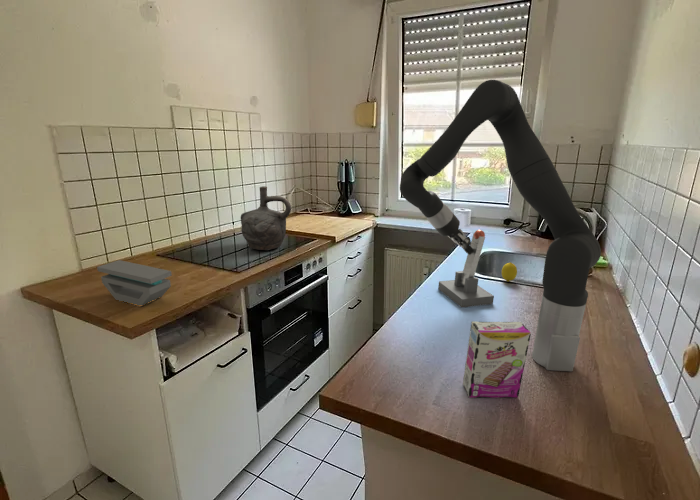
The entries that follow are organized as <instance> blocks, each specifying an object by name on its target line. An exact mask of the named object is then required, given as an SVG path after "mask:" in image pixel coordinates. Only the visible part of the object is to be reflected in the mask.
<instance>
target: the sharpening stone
mask: <svg viewBox="0 0 700 500" xmlns="http://www.w3.org/2000/svg"><path fill="white" fill-rule="evenodd" d="M96 269H97V272H100V273H104V274H105V275H102V276H101V277H100V278H101V283H102V285H103V286H104V287H105V288H106V289H107V291H108V292H109V293H110V294H111V296H112V297H113V298H114V299H115V300H119V301H118V302H120V301H124V302H128V303H133V304H137V305H144V304H146V303H148V302H150V301H152V300H155V299H157V298H159V297H161V298H162V297H163V296H164V295H165V294H166V292H167V291H168V290H169V289H170V288H171V287H172V286H171V285H172V284H171V280H170V279H167V278H170V277H171V276H172V275H173V274H172V270H168V269H163V268H157V267H154V266H150V265H144V264H139V263H134V262H131V261H130V262H129V261H124V260H122V259H119V260H114V261H112V262H108V263H106V264H102V265H98V266H96ZM159 299H160V298H159ZM157 300H158V299H157ZM155 301H156V300H155ZM124 302H123V303H124ZM150 303H151V302H150ZM148 304H149V303H148ZM146 305H147V304H146ZM144 306H145V305H144Z"/></svg>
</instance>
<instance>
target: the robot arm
mask: <svg viewBox="0 0 700 500" xmlns="http://www.w3.org/2000/svg"><path fill="white" fill-rule="evenodd" d="M487 121H488V122H489V123H491V126H493V128H494V129H495V131H496V132H497V134H498V136H499V138H500V140H501V142H502V145H503V148H504V153H505V158H506V165H507V168H508V172H509V175H510V177H511V179H512V180H513V182H514V184H515V187H516V188H517V190H518V192H519V194H520V195H521V196H522V197H523V199H524V200H525V201H526V202H527V203H528V204H529V205H530V207H532V209H534V210H535V212H537V214H539V215H540V216H541V217H542V219H543V220H544V222H545V223H546V224H547V226H548V227H549V230H550V232H551V233H552V236H553V238H554V240H553V241H551V243H550V245H548V249H547V251H546V255H545V258H544V259H545V260H544V266H543V272H542V273H543V274H542V280H541V281H542V288H543V291H542V297H541V303H540V307H539V308H540V309H539V313H538V320H537V325H536V330H535V335H534V340H533V347H532V352H531V358H532V359H533V360H534V362H536V363H537V364H538V365H540V366H542V367H544V369H545V370H546V371H556V372H557V371H559V372H560V371H561V372H573V370H574V366H575V363H576V357H577V353H578V348H579V344H580V339H581V338H580V333H581V328H582V323H583V319H584V316H585V315H584V314H585V311H586V307H587V306H586V305H587V303H588V298H589V292H588V290H587V284H588V283H587V282H588V277H589V272H590V269H591V268H592V267H594V266H595V265H596V264H597V263H598V262H599V260H600V259H601V255H602V251H601V250H602V248H601V245H600V243H599V241H598V239H597V238H596V236H595V234H594V233H593V232H592V230H591V229H590V227H589V226H588V225H587V223H586V222H585V220H584V219H583V217H582V216H581V215H580V213H579V211H578V210H577V208H576V207H575V205H574V203H573V201H572V198H571V196H570V195H569V192H568V190H567V188H566V186H565V184H564V183H563V181H562V179H561V177H560V174H559V172H558V171H557V168H556V167H555V165H554V163H553V161H552V160H551V158H550V156H549V154H548V152H547V151H546V149H545V148H544V146H543V145H542V143H541V141H540V139H539V138H538V137H537V135H536V134H535V132H534V130H533V129H532V127H531V126H530V124H529V121H528V120H527V117H526V114H525V111H524V109H523V107H522V104H521V102H520V99H519V95H518V94H517V92H516V90H515V89H514V88H513V87H512V86H511V85H510V84H507V83H505V82H502V81H501V80H498V79H487V80H485V81H483V82H481V83H480V84H479V85H478V86H477V87H476V88H475V89H474V91H473V92H472V93H471V95H470V96H469V97H468V98H467V101H466V102H465V103H464V104H463V106H462V108H461V109H459V112H458V113H457V114H456V116H455V117H454V119H453V120H452V122H451V123H450V124H449V125H448V126H447V127H446V129H445V130H444V131H443V133H442V134H441V135H440V136H439V137H438V139H437V140H436V141H435V142H434V143H433V144H432V145H431V146H430V147H429V148H428V149H427V150H426V151H425V152H424V153H423V155H422V156H421V157H419V159H417V160H415V161H414V162H413V163H411V164H410V165H408V166H407V167H406V169H405V170H403V172H402V174H401V177H400V184H399V191H400V193H401V195H402V197H403V199H405V200H406V201H407V202H409V204H411V205H412V206H414V207H416V208H417V209H418V210H419V211H420V212H421V213H422V214H423V216H424V217H425V218H426V220H427V221H428V222H429V223H430V225H431V226H432V227H433V228H434V229H435V230H436V232H437V233H438V234H439V235H440V236H441V237H448V238H449V239H450V240H451V241H453V243H455V244H456V245H458V246H459V247H460V248H462V250H463V251H464V252H465V253H466V254H467V255H468V254H469V255H471V254H472V253H473V251H474V250H473V248H472V247H471V246H470V245H471V241H472V239H471V238H470V236H466V234H464V232H463V230H462V229H461V228H460V224H461V222H460V220H459V218H458V217H457V215H455V213H454V212H453V211H452V209H450V208H449V206H448V205H447V204H446V203H444V202H443V201H442V199H441V198H440V196H439V195H438V194H436V192H435V191H432V190H428V189H426V188H425V186H424V185H425V184H424V183H425V181H426V180H427V179H428V178H429V177H435V176H437V175H438V174H440V173H441V171H443V170H444V169H445V168H446V167H447V166H448V165H449V164H451V162H452V161H453V160H454V158H456V156H457V155H458V153H459V152H460V150H461V148H462V146H463V145H464V143H465V141H466V140H467V139H468V137H469V136H470V135H471V134H472V133H473V132H474V131H475V130H476V129H477V128H478V127H479V126H481V125H482V124H484V123H485V122H487Z"/></svg>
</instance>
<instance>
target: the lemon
mask: <svg viewBox="0 0 700 500" xmlns="http://www.w3.org/2000/svg"><path fill="white" fill-rule="evenodd" d="M517 274H518V269H517V266H516V265H515V264H514V263H513V262H510V261H509V262H508V263H505V264H503V266H502V269H501V277H502V278H503V279H504V280H505V281H506V282H510V281H513V280H515V279H516V277H517Z"/></svg>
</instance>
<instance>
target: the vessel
mask: <svg viewBox="0 0 700 500" xmlns="http://www.w3.org/2000/svg"><path fill="white" fill-rule="evenodd" d="M259 201H260V202H259V206H258V208H256V209H252V210H248V211H245V212H243V213H241V215H240V223H241V225H240V226H241V228H240V230H241V234H242V236H243V238H244V240H245V241H246V243H247V245H248V247H249V248H250V249H252V250H257V251H270V250H274V249H277V248H279V247H281V246H282V244H283V243H284V240H285V237H286V230H287V217H289V215H290V214H291V212H292V205H291V202H290V201H289V200H288V199H287V198H286V197H284V196H282V195H271V196H270V195H269V196H268V186H260V187H259ZM271 202H281V203H283V204H284V205H285V210H284V211H283V212H280V211H278V210H274V209H271V208H269V207H268V203H271Z"/></svg>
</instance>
